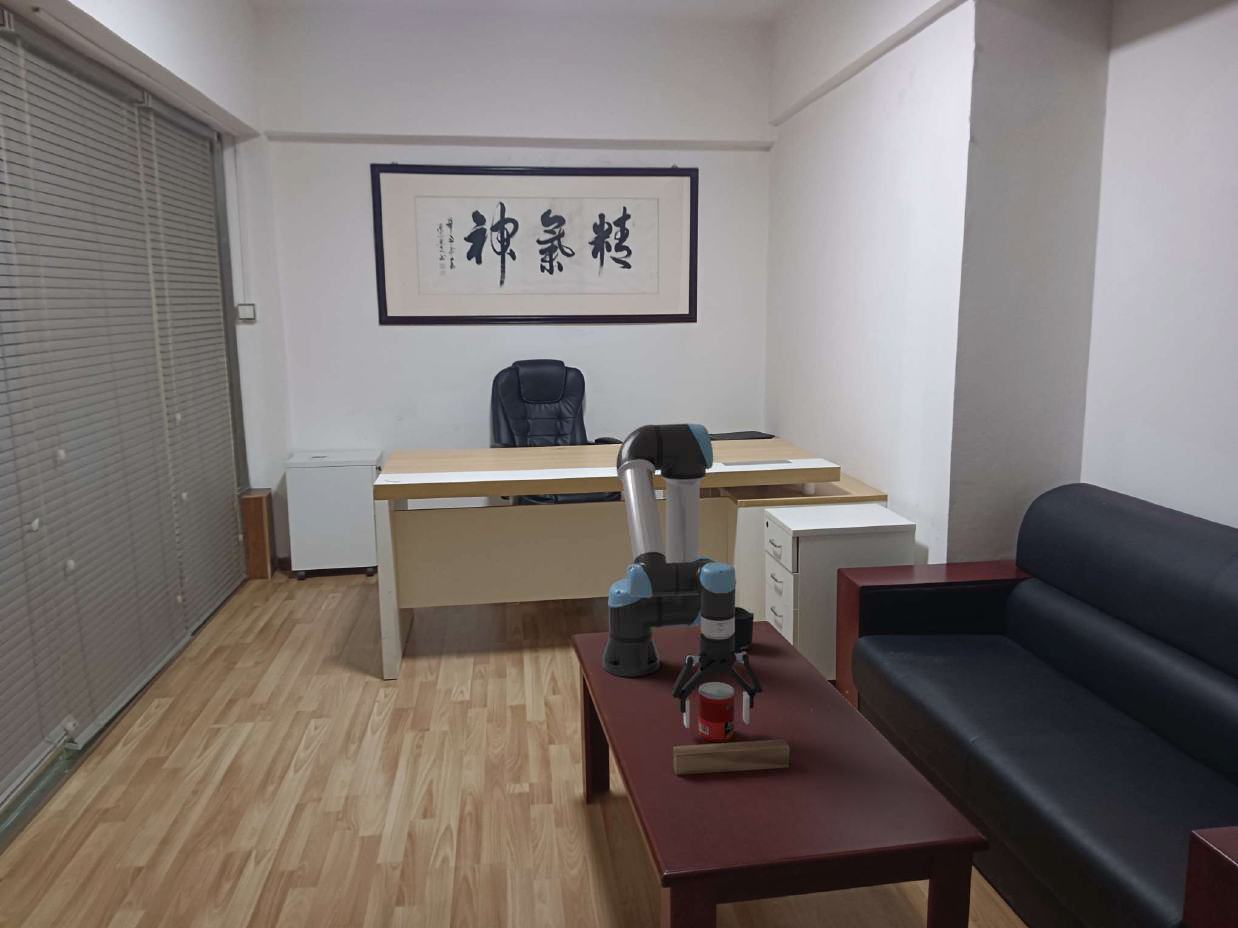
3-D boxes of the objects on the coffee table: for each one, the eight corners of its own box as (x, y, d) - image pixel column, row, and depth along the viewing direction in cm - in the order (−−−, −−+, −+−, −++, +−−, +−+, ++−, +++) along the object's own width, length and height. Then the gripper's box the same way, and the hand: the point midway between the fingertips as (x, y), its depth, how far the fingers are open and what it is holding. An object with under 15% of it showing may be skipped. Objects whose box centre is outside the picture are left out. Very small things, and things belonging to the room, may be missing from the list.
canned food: (732, 744, 197) (733, 697, 195) (696, 741, 198) (696, 694, 196) (735, 728, 204) (735, 683, 202) (700, 724, 206) (700, 680, 204)
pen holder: (718, 651, 247) (718, 617, 245) (720, 639, 256) (720, 606, 254) (752, 654, 246) (753, 619, 244) (753, 641, 255) (754, 607, 253)
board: (673, 766, 188) (673, 746, 187) (783, 758, 191) (784, 739, 190) (676, 774, 185) (676, 754, 184) (788, 766, 187) (789, 747, 186)
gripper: (664, 642, 192) (664, 734, 195) (777, 636, 194) (775, 727, 198) (658, 630, 199) (658, 718, 203) (767, 624, 202) (765, 712, 206)
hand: (716, 723), depth 201 cm, fingers open, 13 cm apart
